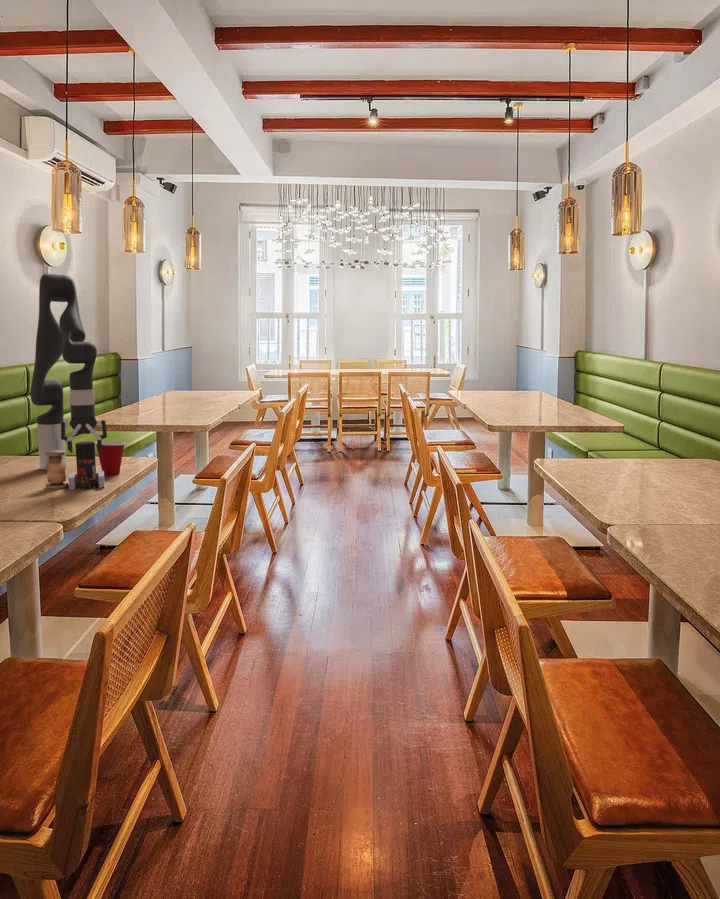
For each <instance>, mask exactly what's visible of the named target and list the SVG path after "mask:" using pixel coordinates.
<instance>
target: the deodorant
mask: <svg viewBox="0 0 720 899" xmlns="http://www.w3.org/2000/svg"><path fill="white" fill-rule="evenodd" d="M75 456H76V459H75V460H76V462H75V463H76V473H77V481H78V486H77V489H79V488H80V489H79V490H90V489H89V488H92V489H95V488H94V487H96V488H97V486H98V485H97V481H96V472H97V467H96V466H97V465H96V444H95V441H79V442H76V443H75Z"/></svg>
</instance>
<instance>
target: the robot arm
mask: <svg viewBox="0 0 720 899" xmlns="http://www.w3.org/2000/svg"><path fill="white" fill-rule="evenodd" d="M38 288H39V289H38V290H39V292H38V295H39V297H38V303H39V304H38V307H39V308H38V321H37V330H36V338H35V355H34V367H33V373H32V380H31V385H30V392H29V393H30V394H29V395H30V400H31V403H32V404H33V405H35V406H37V407H38V406H39V407H40V406H41V407H42V406H51V407H50V408H49V410H48V411H46V412H43V413H42V414H39V415H38V416H37V417H36V423H37V424H36V426H37V438H38V440H37V441H38V458H39V468H40V470H41V471H47V462H49V456H45V452H47V451H56V450H61V451H65V455H62V461H64V462H65V467H66V468H67V455H66V454H67V453H66V443H67V451H68V452H69V453H71V454H72V453H73V452H74V451H73V440H72V439H74V437H75V436H76V434H77V435H83V434H85V435H89V434H92V436H94V437H95V438H96V439H97V440H96V442H97V447H96V450H97V449H98V451H100V450H101V449H102V441H103V440H104V439H106V438H107V437H108V432H107V425H106V419H101V420H97V419H96V408H95V407H96V405H95V404H96V403H95V394H94V385H93V383H94V382H93V374H94V367H95V364H96V359H97V355H98V351H97V347H96V345H95V343H93V342H92V341H85V340H86V333H85V329H84V327H83V322H82V319H81V317H80V316H81V315H80V310H79V309H80V308H79V301H78V295H77V294H78V293H77V288H76V284H75V281H74V279H73V277H72V276H70V275H65V274H56V273H55V274H53V273H52V274H51V273H45V274H42V275H41V277H40V279H39V287H38ZM52 302H56V303H57V302H58V303H67V305H66V307H65V308H64V309H63V312H62V313H61V315H60V316H59V320H58V321H59V322H58V321H57V319H56V318H55V316H54V314H53V311H52V309H51V304H52ZM61 357H62V359H63V361H65V362H66V363H67V364H70V365H74V364H75V365H77V364H84V365H83V367H82V368H80V369H79V370H75V371H71V372H70V374H69V389H70V390H69V391H70V392H69V406H70V409H69V410H70V421H65V420H64V414H65V412H64V388H63V384H62V382H61V381H59V380H58V379H57V380H56V379H54V380H53V379H52V380H51V379H50V380H49V379H48V380H46V377H47V375H48V373H49V371H50V370H51V369H52V368H53V367H54V365H55V364H56V363H57V362H58V361H59V359H60V358H61ZM97 425H99V427H100V428H101V430H102V434H101V435H100V434H99V432H98V431H97V430H96V429H95V428H96V426H97ZM69 426H70V427H71V428H72V429H73V430H72V431H71V432H70V434H69V435H68V436H66V429H67V428H68V427H69ZM65 441H66V442H65ZM98 451H97V452H98Z"/></svg>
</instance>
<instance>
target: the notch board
mask: <svg viewBox="0 0 720 899" xmlns="http://www.w3.org/2000/svg"><path fill="white" fill-rule="evenodd" d="M67 480H68V491H74V490H73V489H75V490H76V487H78V481H77V472H70V473H69V474H68V479H67ZM96 481H97V484H99V485H98V489H103V488H102V487H104V485H105V484H106V483H105V475H104V471H102V470H101V471H96ZM75 486H76V487H75Z"/></svg>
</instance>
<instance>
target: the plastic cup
mask: <svg viewBox="0 0 720 899" xmlns="http://www.w3.org/2000/svg"><path fill="white" fill-rule="evenodd" d="M94 443H95V448H96V451H97V453H98V459H99V463H100V468H101V471H104V476H118V475H120V472H121V466H122V458H123V452H124V448H125V445H126V444H127V443H126V442H125V441H118V440H117V441H115V440H102V449H101V450H100V451H98V449H97V441H94Z"/></svg>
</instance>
